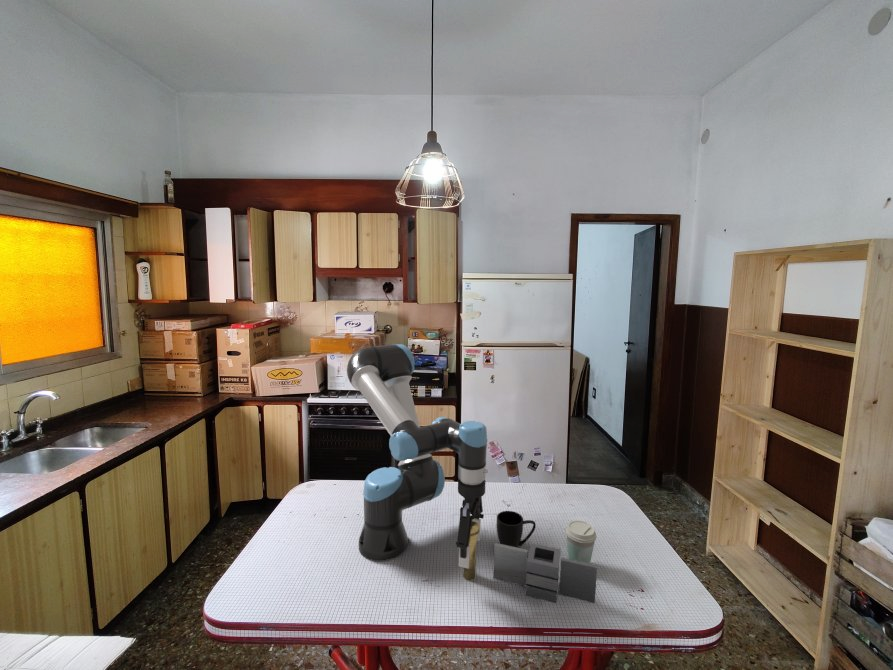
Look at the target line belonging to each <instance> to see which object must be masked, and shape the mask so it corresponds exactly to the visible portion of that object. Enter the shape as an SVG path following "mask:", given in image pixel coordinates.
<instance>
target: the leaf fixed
mask: <svg viewBox="0 0 893 670" xmlns="http://www.w3.org/2000/svg"><path fill="white" fill-rule="evenodd" d="M535 557H537V558H541V559H545V560H550V561H553V563H550V562H546V561H541V560H537V559H535ZM559 562H560V563H559ZM527 572H531V573H535V574H539V575H543V576H548V577H552V578H556V579H558V581H559V584H558V589H557V591H554V590H550V589H546V588H542V587H538V586H534V585H530V584H526V586H525V596H526V597H530V598H534V599H537V600H540V601H546V602H549V603H553V604H557V602H558V595H559V596H564V597H568V598H572V599H576V600H579V601H583V602H588V603H592V604H596V589H597V577H598V576H597V575H598V565H597V564H594V563H591V562H590V563H585V562H581V561H576V560H571V559H568V557H566V558H565V557H561V548H557V547H553V546H547V545H543V544H539V543H534V542H530V545H529V549H528V557H527ZM558 574H559V577H558Z"/></svg>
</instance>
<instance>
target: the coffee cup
mask: <svg viewBox="0 0 893 670" xmlns="http://www.w3.org/2000/svg"><path fill="white" fill-rule="evenodd" d="M565 534H566V542H567V543H566V544H567V559H571V560H576V561H581V562H585V563H590V564H591V561H592V557H593V552H594V546H595V541H596V540H597V533H596V529H595V527H594V526H593V525H592V524H591V523H589V522H587V521H584V520H576V519H575V520H572V521H570V522H569V523H568V524H567V526H566V528H565Z"/></svg>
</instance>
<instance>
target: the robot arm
mask: <svg viewBox="0 0 893 670" xmlns="http://www.w3.org/2000/svg"><path fill="white" fill-rule="evenodd" d="M415 365H416V361H415V358H414V354H413V353H412V351H411V350H410V348H409V347H408V346H406V345H405V344H403V343H400V344H398V343H397V344H396V343H391V344H387V345H386V344H385V345H374V346H373V345H372V346H364V347H361V348H359V349H358V350H356V351H355V352H354V353H352V355H351V356H350V358H349V359H348V362H347V365H346V376H347V379H348V381H349V384H351V386H352V387H353V388H354V389H355V390H357V391H359V393H361V395H362V396H363V397H364V399H365V401H366V402H367V403H368V405H369V406H370V407H371V410H373V412H374V414H375V415H376V417H377V418H378V419H379V421H380V422H381V424H382V426H384V428H385V430H386V431H387V433H388V434H389V436H390V438H389V440H388V441H389V443H388V445H389V446H388V447H389V450H390V454H391V456H392V458H393V459H394V460H396V461H398V464H397V466H398V467H394V466H389V467H385V466H384V467H380V468H377V469H375V470H373V471H372V472H371V473H369V474H368V475H367V476H366V478H365V480H364V484H363V490H362V491H363V492H362V495H363V516H364V517H363V519H364V520H363V521H364V522H363V526H362V529H361V532H360V535H359V537H358V550H359V553H360V554H361V555H362V556H363V557H364V558H366V559H368V560H370V561H376V562H384V561H390V560H393V559H396V558H397V557H400V556H401V555H402V554H403V553H404V552H405V551H406V550H407V548H408V544H409V543H408V537H409V536H408V534H407V531H406V528H405V526H404V522H403V511H404V510H406V509H409V508H412V507H415V506H418V505H420V504H423V503H425V502H431V501H432V500H433V499H436V498H438V497H439V496H440V495H442V493H443V491H444V488H445V482H446V481H445V480H446V479H445V478H446V477H445V472H444V469H443V467H442V465H441V463H440V462H438V460H434V459H433V456H432V453H436V452H440V451H443V450H447V449H449V450H451V451H452V452H455V453H457V454H458V461H457V463H458V465H457V478H458V479H457V492H458V494H459V495H460V496H461V497H463V498H464V499H463V500H462V507H461V506H460V509H459V524H458V531H457V538H456V542H455V545H456V548H458V567H461V568H468V569H469V557H470V544H469V538H470V532H471V525H472V521H474V522H476V523H478V525H479V532H478V534H477V539H476V542H481V522H482V521H481V519H484V514H483V512H484V510H483V508H484V507H483V500H482V499H483V496H485V494H486V476H487V475H486V474H487V473H489V472H488V469H486V467H487V445H488V444H487V443H488V434H487V433H488V432H487V426H486V425H485V424H484V423H482V422H480V421H476V420H468V421H463V422H462V423H459V422H458V421H456V420H453V419H452V418H449V417H445V416H439V417H436V419H435V420H433V421H432V423H431V424H429V425H424V426H421V425H420V423H419V417H418V413H417V410H416V406H415V403H414V398H413V394H412V391H411V386H410V381H411V380H412V378H413V377H412V374H413V373H414V371H415Z"/></svg>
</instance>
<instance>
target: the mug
mask: <svg viewBox="0 0 893 670" xmlns="http://www.w3.org/2000/svg"><path fill="white" fill-rule="evenodd" d="M527 524H530V525H532V527H531V530H530V531H529V533H528V534H527V535H526V536H525V538H523V539H522V535H523V533H524V532H523V530H524V525H527ZM536 526H537V525H536V522H535V521H534V520H532V519H531V520H530V519H528V520H526V519H525V520H524V518H523V516H522V515H521V514H520V513H519V512H516V511H512V510H503V511H501V512H498V513H497V515H496V534H497V538H498V542H499V543H498V544H503V545H508V546H512V547H517V548H519V547H521V546H523V545H525V543H526V542H527V541H528V540H529V538H531V536H532V535H533V533H534V532H535V530H536ZM521 539H522V540H521Z"/></svg>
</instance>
